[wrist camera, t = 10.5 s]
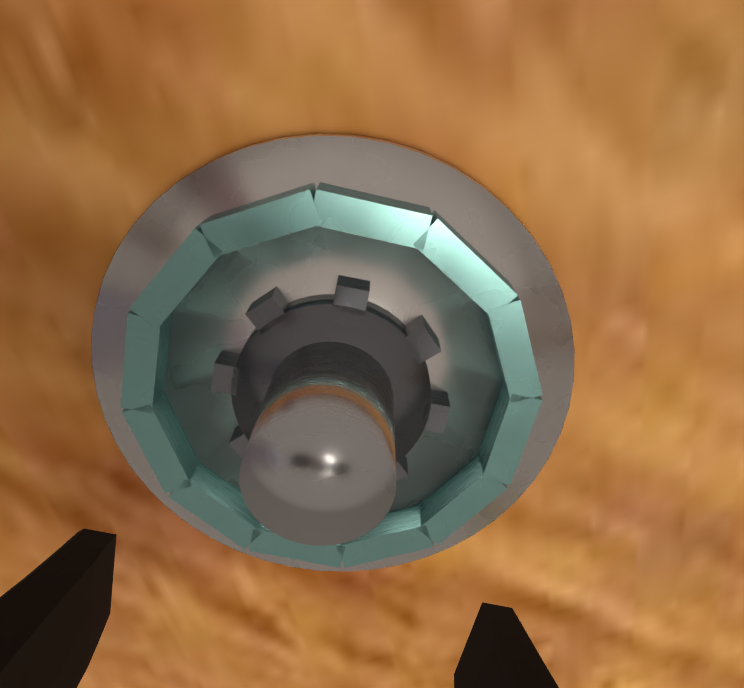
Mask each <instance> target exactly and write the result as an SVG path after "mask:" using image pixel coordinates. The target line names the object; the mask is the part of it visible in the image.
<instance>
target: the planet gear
mask: <svg viewBox="0 0 744 688" xmlns="http://www.w3.org/2000/svg"><path fill="white" fill-rule="evenodd" d="M369 292H370V281H367V280H362V279H357V278H352V277H347V276H342V275H338V280H337V285H336V290H335V294H321V295H312V296H308V297H304V298H300V299H297V300H294V301H292V302H288V301H287V299H286V298H285V297H284V295H283V294H282V293H281V291H280V290H279V289H278V287H277V286H276V287H275V288H273V289H272V290H270V291H269V292H267V293H266V294H264V295H263V296H261V297H260V298H258V299H257V300H255V301H254V302H252V303H251V305H250V307H249V308H248V310H247V312H246V316H247V317H248V318H249V320H250V321H251V322H252V323H253V325H254V326H255V327H256V328H255V329H254V330H253V332H252V333H251V334H250V336H249V338H248V340H247V341H246V343H245V345H244V347H243V349H242V351H241V353H240V354H239V353H234V352H229V351H223V350H222V351H221V352H220V354H219V356H218V358H217V359H216V361H215V363H214V370H213V379H212V388H211V391H214V392H219V393H225V394H230V395H231V397H232V405H233V409H234V413H235V417H236V419H237V422H238V424H239V426H237V427H235V429H234V432H233V434H232V437H231V439H230V441H229V444H230V445H231V446H232V448H233V449H234V450H235V451H236V452H237V453H238V454H239V456H240V457H241V458H242V461H241V466H240V471H239V483H240V489H241V493H242V497H243V499H244V501H245V504H246V505H247V507H248V509H249V510H250V512H251V513H252V514H253V516H254V517H255V518H256V519H257V520H258V521H259V522H260V523H261V524H262V525H263V526H265V527H266V528H267V529H269V530H270V531H272V532H273V533H275V534H277V535H278V536H281V537H283V538H285V539H287V540H290V541H293V542H297V543H301V544H306V545H314V546H328V545H336V544H341V543H346V542H349V541H352V540H354V539H357V538H359V537H361V536H363V535H365V534H366V533H368V532H370V531H371V530H372V529H373V528H375V527H376V526H377V525H378V524H379V523H380V522H381V521H382V520H383V519H384V517H385V516H386V514H387V513H388V511H389V509H390V508H391V506H392V503H393V500H394V497H395V492H396V481H398V480H400V479H402V478H404V477H406V476H407V475H408V466H407V458H406V456H405V455H406V454H407V453H408V452H409V451H410V450H411V449H412V448H413V446H414V445H415V444H416V442H417V441H418V440H419V438H420V436H421V434H422V432H423V431H424V430H427V431H433V432H438V433H443V432H444V428H445V425H446V421H447V418H448V414H449V411H450V402H449V397H448V392H443V391H437V390H432V389H431V386H430V378H429V371H428V366H427V362H426V360H428V359H429V358H431V357H433V356H434V355H436V354H438V353H440V352H441V348H440V343H439V339H438V337H437V336H436V334H435V333H434V331H433V330H432V328H431V327H430V325H429V324H428V322H427V321H426V319H425V318H424V317H423V315H421V316H419V317H417V318H416V319H414V320H412V321H411V322H409V323H407V324H406V325H405V324H404V323H403V322H402V321H400V320H399V319H398V318H397V317H396V316H394V315H393V314H392V313H390V312H389V311H388V310H386V309H384V308H382V307H380V306H379V305H377V304H375V303H372V302H370V301H368V297H369Z"/></svg>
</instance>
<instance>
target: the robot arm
mask: <svg viewBox="0 0 744 688" xmlns="http://www.w3.org/2000/svg"><path fill="white" fill-rule="evenodd" d="M115 545H116V534H110V533H105V532H100V531H94V530H89V529H83V530H81V531H79V532H77V533H76V534H75V535H74V536H73V537H72V538H71V539H70V540H68V541H67V542H66V543H65V544H64V545H63V546H62V547H60V548H59V549H58V550H57V551H56V552H55V553H53V554H52V555H51V556H50V557H49V558H48V559H46V560H45V561H44V562H43V563H42V564H41V565H39V566H38V567H37V568H36V569H35V570H33V571H32V572H31V573H30V574H29V575H27V576H26V577H25V578H24V579H23V580H21V581H20V582H19V583H18V584H16V585H15V586H14V587H12V588H11V589H10V590H9V591H7V592H6V593H5V594H4V595H2V596H1V597H0V688H77V686H78V684H79V682H80V681H81V679H82V677H83V675H84V673H85V671H86V669H87V667H88V665H89V663H90V660H91V658H92V656H93V653H94V651H95V649H96V646H97V644H98V642H99V639H100V637H101V634H102V632H103V630H104V627H105V625H106V622H107V620H108V617H109V615H110V608H111V596H112V583H113V570H114V558H115ZM454 688H559V687H558V685H557V684H556V682H555V680H554V679H553V677H552V675H551V674H550V672H549V670H548V669H547V667H546V665H545V664H544V662H543V660H542V659H541V657H540V655H539V653H538V652H537V650H536V648H535V647H534V645H533V643H532V641H531V640H530V638H529V636H528V634H527V633H526V631H525V629H524V627H523V626H522V624H521V622H520V621H519V619H518V617H517V615H516V614H515V612H514V610H513V609H512V608H509V607H504V606H498V605H493V604H488V603H482V605H481V607H480V610H479V612H478V615H477V617H476V620H475V622H474V625H473V628H472V630H471V633H470V635H469V638H468V640H467V643H466V645H465V648H464V650H463V653H462V655H461V658H460V661H459V663H458V666H457V668H456V671H455V673H454Z"/></svg>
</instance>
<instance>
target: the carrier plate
mask: <svg viewBox="0 0 744 688" xmlns="http://www.w3.org/2000/svg"><path fill="white" fill-rule="evenodd" d="M338 275H342V276H347V277H352V278H357V279H362V280H367V281H370V292H369V297H368V301H370V302H372V303H375V304H377V305H379V306H380V307H382V308H384V309H386V310H388V311H389V312H390V313H392V314H393V315H394V316H396V317H397V318H398V319H399V320H400V321H402V322H403V323H404V324H405V325H406V324H407V323H409V322H411V321H412V320H414V319H416V318H417V317H419V316H421V315H423V317H424V318H425V319H426V321H427V322H428V324H429V325H430V327H431V328H432V330H433V331H434V333H435V334H436V336H437V337H438V339H439V343H440V348H441V352H440V353H438V354H436V355H434V356H433V357H431V358H429V359H428V360H426V362H427V366H428V371H429V378H430V386H431V389H432V390H437V391H443V392H448V397H449V402H450V411H449V414H448V418H447V421H446V425H445V428H444V432H443V433H438V432H433V431H427V430H424V431H423V432H422V434H421V436H420V438H419V440H418V441H417V442H416V444H415V445H414V446H413V448H412V449H411V450H410V451H409V452H408V453H407V454H406V455H405V456H406V458H407V466H408V475H407V476H406V477H404V478H402V479H400V480H398V481H396V492H395V497H394V500H393V503H392V506H391V508H390V509H389V511H388V513H387V514H386V516H385V517H384V519H383V520H382V521H381V522H380V523H379V524H378V525H377V526H376V527H375V528H373V529H372V530H371V531H370V532H368V533H366V534H365V535H363V536H361V537H359V538H357V539H354V540H352V541H349V542H346V543H341V544H336V545H328V546H314V545H306V544H301V543H297V542H293V541H290V540H287V539H285V538H283V537H281V536H278V535H277V534H275V533H273V532H272V531H270V530H269V529H267V528H266V527H265V526H263V525H262V524H261V523H260V522H259V521H258V520H257V519H256V518H255V517H254V516H253V514H252V513H251V512H250V510H249V509H248V507H247V505H246V504H245V501H244V499H243V497H242V493H241V489H240V483H239V471H240V466H241V461H242V458H241V457H240V456H239V454H238V453H237V452H236V451H235V450H234V449H233V448H232V446H231V445H230V444H229V441H230V439H231V437H232V434H233V432H234V429H235V427H237V426H239V424H238V422H237V419H236V417H235V413H234V409H233V405H232V397H231V395H230V394H225V393H219V392H214V391H211V388H212V379H213V370H214V363H215V361H216V359H217V358H218V356H219V354H220V352H221V351H222V350H223V351H229V352H234V353H239V354H240V353H241V351H242V349H243V347H244V345H245V343H246V341H247V340H248V338H249V336H250V334H251V333H252V332H253V330H254V329H255V328H256V327H255V326H254V325H253V323H252V322H251V321H250V320H249V318H248V317H247V316H246V312H247V310H248V308H249V307H250V305H251V303H252V302H254V301H255V300H257V299H258V298H260V297H261V296H263V295H264V294H266V293H267V292H269V291H270V290H272V289H273V288H275V287H276V286H277V287H278V289H279V290H280V291H281V293H282V294H283V295H284V297H285V298H286V299H287V301H288V302H292V301H294V300H297V299H300V298H304V297H308V296H312V295H321V294H335V290H336V285H337V280H338ZM91 339H92V368H93V373H94V379H95V385H96V391H97V395H98V398H99V402H100V405H101V408H102V411H103V414H104V417H105V420H106V423H107V425H108V427H109V429H110V431H111V433H112V435H113V437H114V440H115V442H116V444H117V446H118V447H119V449H120V451H121V452H122V454H123V455H124V457H125V458H126V460H127V462H128V463H129V465H130V466H131V468H132V469H133V470H134V472H135V473H136V474H137V475H138V476H139V478H140V479H141V480H142V481H143V483H144V484H145V485H146V486H147V487H148V489H149V490H150V491H151V492H152V493H153V494H154V495H155V496H156V497H157V498H158V499H160V500H161V501H162V502H163V503H164V504H165V505H166V506H167V507H168V508H169V509H170V510H171V511H173V512H174V513H175V514H177V515H178V516H179V517H180V518H182V519H183V520H184V521H186V522H187V523H188V524H190V525H191V526H193V527H194V528H196V529H197V530H199V531H201V532H202V533H204V534H206V535H207V536H209V537H211V538H212V539H214V540H216V541H218V542H220V543H222V544H224V545H227V546H229V547H231V548H233V549H235V550H237V551H239V552H242V553H245V554H248V555H251V556H254V557H257V558H259V559H262V560H265V561H269V562H273V563H278V564H282V565H286V566H290V567H296V568H304V569H312V570H319V571H358V570H372V569H379V568H384V567H390V566H396V565H401V564H404V563H408V562H411V561H415V560H418V559H422V558H425V557H428V556H430V555H433V554H435V553H438V552H440V551H443V550H445V549H447V548H450V547H452V546H454V545H456V544H457V543H459V542H461V541H463V540H465V539H467V538H469V537H470V536H472V535H474V534H476V533H477V532H478V531H480V530H481V529H483V528H484V527H485V526H487V525H488V524H490V523H491V522H493V521H494V520H495V519H497V518H498V517H499V516H500V515H501V514H502V513H503V512H504V511H506V510H507V509H508V508H509V507H510V506H511V505H512V504H513V503H514V502H516V501H517V499H518V498H519V497H520V496H521V495H522V494H523V493H524V491H525V490H526V489H527V488H528V487H529V486H530V484H531V483H532V482H533V481H534V480H535V478H536V477H537V475H538V474H539V472H540V470H541V469H542V467H543V466H544V464H545V463H546V461H547V460H548V458H549V456H550V454H551V452H552V450H553V448H554V446H555V444H556V442H557V440H558V438H559V436H560V434H561V431H562V428H563V424H564V421H565V418H566V415H567V412H568V409H569V405H570V399H571V393H572V387H573V381H574V344H573V336H572V328H571V321H570V317H569V314H568V310H567V306H566V303H565V299H564V296H563V292H562V290H561V288H560V285H559V283H558V281H557V279H556V277H555V274H554V272H553V270H552V268H551V265H550V263H549V262H548V260H547V259H546V257H545V255H544V254H543V252H542V251H541V249H540V248H539V246H538V245H537V243H536V241H535V240H534V238H533V237H532V235H531V234H530V233H529V232H528V231H527V230H526V228H525V227H524V226H523V225H522V224H521V223H520V222H519V220H518V219H517V218H516V217H515V216H514V215H513V213H512V212H511V211H510V210H509V209H508V208H507V207H506V206H505V205H504V204H503V203H502V202H501V201H500V200H499V199H497V198H496V197H495V196H494V195H493V194H492V193H491V192H489V191H488V190H487V189H486V188H485V187H484V186H483V185H481V184H480V183H479V182H477V181H476V180H474V179H472V178H471V177H469V176H468V175H466V174H465V173H463V172H462V171H460V170H459V169H457V168H456V167H454V166H452V165H451V164H448V163H446V162H444V161H442V160H440V159H438V158H436V157H433V156H431V155H429V154H427V153H425V152H423V151H421V150H418V149H414V148H411V147H408V146H405V145H401V144H398V143H395V142H392V141H388V140H384V139H378V138H372V137H366V136H360V135H354V134H326V133H314V134H305V135H296V136H287V137H280V138H276V139H272V140H269V141H265V142H261V143H257V144H253V145H249V146H246V147H244V148H241V149H239V150H237V151H234V152H232V153H229V154H227V155H225V156H222V157H220V158H217V159H215V160H213V161H212V162H210V163H208V164H206V165H205V166H203V167H201V168H200V169H198V170H196V171H195V172H193V173H191V174H190V175H188V176H186V177H185V178H183V179H181V180H180V181H179V182H177V183H176V184H175V185H174V186H173V187H171V188H170V189H169V190H168V191H166V192H165V193H164V194H163V195H162V196H160V197H159V198H158V199H157V200H155V201H154V202H153V204H152V205H151V206H150V207H149V208H148V209H147V210H146V211H145V212H144V214H143V215H142V216H141V217H140V218H139V219H138V220H137V221H136V222H135V224H134V225H133V226H132V227H131V229H130V231H129V232H128V234H127V235H126V237H125V238H124V240H123V241H122V243H121V244H120V246H119V247H118V249H117V250H116V252H115V254H114V256H113V259H112V261H111V263H110V265H109V267H108V270H107V272H106V274H105V276H104V278H103V281H102V285H101V288H100V292H99V296H98V299H97V303H96V306H95V312H94V320H93V328H92V336H91Z"/></svg>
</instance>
